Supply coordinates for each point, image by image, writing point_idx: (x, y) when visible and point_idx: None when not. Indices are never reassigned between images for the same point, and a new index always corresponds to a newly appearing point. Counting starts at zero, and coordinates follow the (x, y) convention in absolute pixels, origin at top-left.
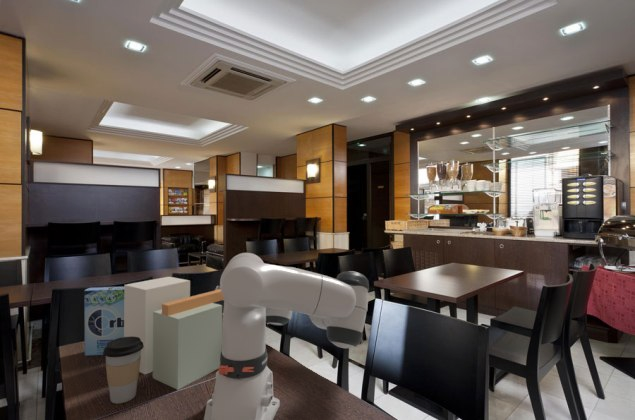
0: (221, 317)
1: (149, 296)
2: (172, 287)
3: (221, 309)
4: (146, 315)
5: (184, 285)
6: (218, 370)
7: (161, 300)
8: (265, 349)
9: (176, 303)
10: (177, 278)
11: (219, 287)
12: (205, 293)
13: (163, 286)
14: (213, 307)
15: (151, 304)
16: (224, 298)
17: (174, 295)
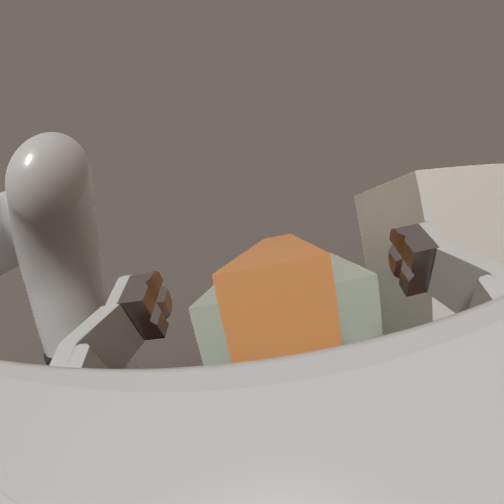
0: (203, 361)
1: (360, 214)
2: (383, 196)
3: (194, 326)
4: (366, 263)
5: (405, 193)
6: (137, 368)
7: (375, 234)
8: (45, 354)
9: (263, 239)
10: (479, 165)
11: (392, 239)
12: (288, 240)
13: (369, 190)
14: (205, 295)
15: (366, 238)
16: (97, 236)
17: (391, 228)
